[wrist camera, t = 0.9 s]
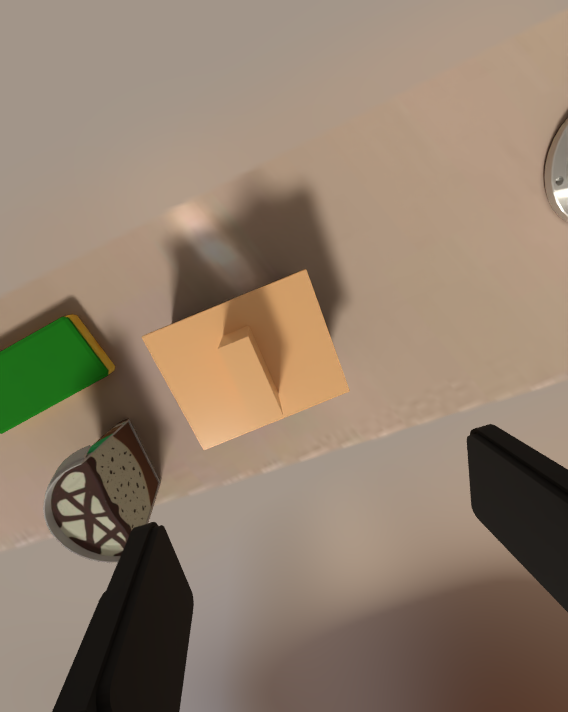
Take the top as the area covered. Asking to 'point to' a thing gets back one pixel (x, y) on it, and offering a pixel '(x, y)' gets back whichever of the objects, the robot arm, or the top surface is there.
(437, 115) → the top surface
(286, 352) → the lid
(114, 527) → the food container
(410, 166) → the top surface
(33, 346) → the dish sponge
